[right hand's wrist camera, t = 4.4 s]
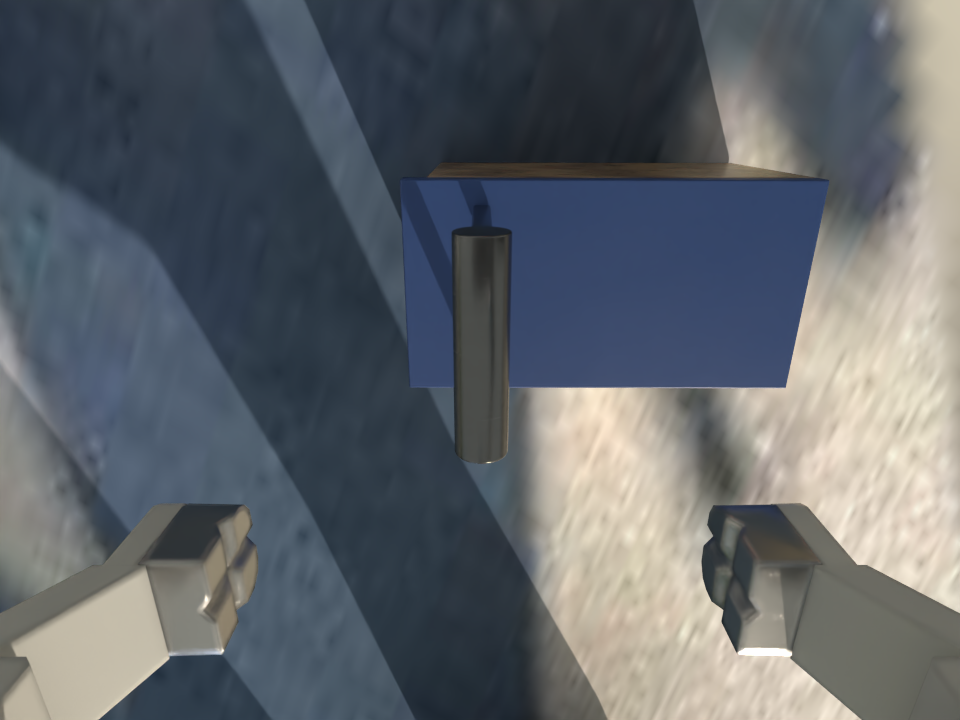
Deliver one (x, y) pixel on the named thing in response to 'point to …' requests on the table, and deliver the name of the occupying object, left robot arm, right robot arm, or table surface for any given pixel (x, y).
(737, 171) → the chest
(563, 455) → the table surface
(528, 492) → the table surface
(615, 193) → the lid
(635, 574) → the table surface
